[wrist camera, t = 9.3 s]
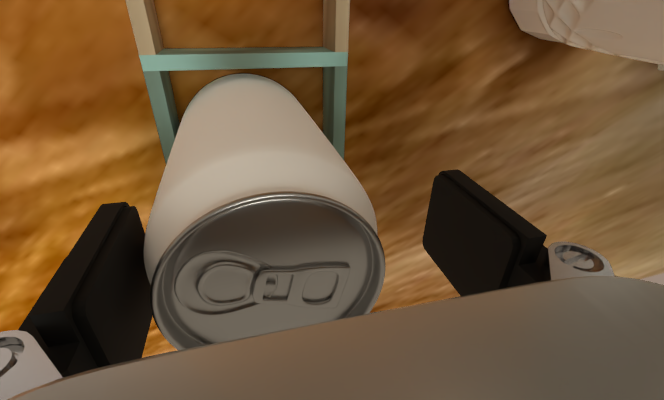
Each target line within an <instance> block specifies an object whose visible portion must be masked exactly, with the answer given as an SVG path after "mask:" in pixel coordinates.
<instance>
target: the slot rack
mask: <svg viewBox="0 0 664 400" xmlns="http://www.w3.org/2000/svg"><path fill="white" fill-rule="evenodd" d="M126 4H127V8H128V13H129V17H130V21H131V25H132V29H133V33H134V37H135V41H136V45H137V49H138V53H139V57H140V61H141V65H142V69H143V73H144V77H145V81H146V85H147V89H148V93H149V97H150V101H151V105H152V109H153V114H154V118H155V122H156V126H157V130H158V134H159V138H160V142H161V146H162V150H163V154H164V158H165V162H166V164H167V161H168V158H169V155H170V152H171V149H172V146H173V143H174V141H175V138H176V135H177V132H178V129H179V126H180V123H179V118H178V114H177V109H176V104H175V99H174V95H173V90H172V85H171V81H170V76H169V71H177V70H216V69H254V68H293V67H323V134H324V135H325V136H326V138H327V139H328V140H329V142H330V143H331V144H332V146H333V147H334V148H335V150H336V151H337V152H338V154H339V155H340V156H341V158H342V159H343V160H344V142H345V116H346V89H347V63H348V36H349V10H350V0H323V47H263V48H174V49H164V48H163V43H162V38H161V33H160V29H159V24H158V19H157V14H156V10H155V5H154V0H126Z"/></svg>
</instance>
